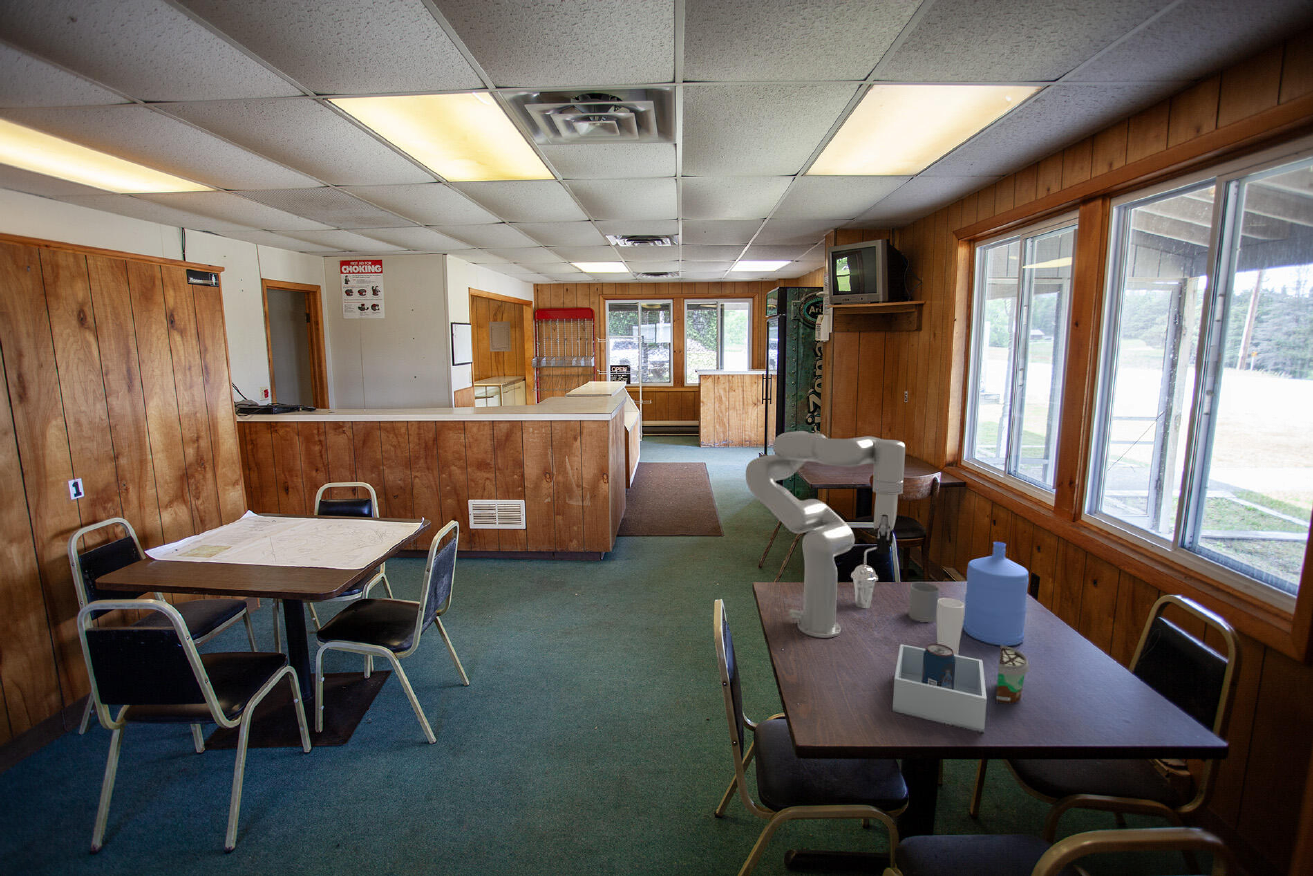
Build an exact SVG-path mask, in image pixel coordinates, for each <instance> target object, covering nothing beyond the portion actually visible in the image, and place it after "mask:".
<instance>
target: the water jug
mask: <svg viewBox="0 0 1313 876" xmlns="http://www.w3.org/2000/svg"><path fill="white" fill-rule="evenodd" d="M1006 546H1007V544H1006V543H1005V542H1001V541H994V542H993V547H992V554H991V555H989V556H985V557H979V558H975V559H972V560H970V561H969V562H968V564H967V568H966V591H965V596H964V620H963V626H962V629H963V630H964V631H965V633H966V634H967V635H969V636H970V637H971V638H972V639H975V640H977V641H980V642H982V643H986V644H990V645H995V646H999V647H1001V645H1004V646H1007V647H1009V646H1010V647H1011V646H1017V645H1019V644H1021V643H1022V642H1023V641H1024V638H1025V631H1024V630H1025V623H1026V622H1025V618H1026V614H1027V597H1028V587H1029V571H1028V570H1027V568H1026V567H1024V566H1022V565H1020V564H1018V563H1016V562H1014V561H1012V560H1010V559H1009V558H1006Z"/></svg>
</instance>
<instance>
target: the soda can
mask: <svg viewBox="0 0 1313 876" xmlns="http://www.w3.org/2000/svg"><path fill="white" fill-rule="evenodd" d="M925 649H926V650H925V651H924V654H923V669H922V683H924V684H929V685H933V686H938V687H942V688H947V689H951V690H954V677H955V663H956V659H955V656H954V654H953V650H952V649H951V648H949V647H947V646H945V645H942V644H937V643H928V644H927V645H926V648H925Z"/></svg>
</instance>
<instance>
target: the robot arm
mask: <svg viewBox="0 0 1313 876" xmlns="http://www.w3.org/2000/svg"><path fill="white" fill-rule="evenodd" d="M772 449H773V452H774V454H770V455H764V456H760V457H759V456H758V457H757V458H754V459H752V460H751V461H750V462H748V464H747V466H746V468H745V481H746V484H747V486H748V488H749V490H750V492H751V493H752V495H753V496H755V498H757V500H758V501H760V503H762V504H763V505H764V506H765V507H766V508H768V510H769V511H770V512H771V513H772V514H773V515H774V517H776V518H777V519H778V520H779V521H780V523H782V525H784V526H785V528H786V529H788V530H789V531H790V532H791V533H793V534H803V533H805V535H804V536H803V539H802V541H801V543H802V552H803V553H802V554H803V559H804V578H803V579H804V582H803V584H804V585H803V610H802V609H801V610H796V609H789V612H788V614H789V615H788V616H790V617H791V619H792V620H797V628H798V629H799V631H800V632H802V633H803V634H805V635H808V636H810V637H813V638H814V637H815V638H821V639H823V638H824V639H825V638H832V637H837V636H839V635H840V634H841V630H842V628H841V625H840V623H838V622H837V619H836V618H837V600H838V599H837V598H838V597H837V596H838V568H837V566H836V562H835V557H838V556H839V555H842V554H844V553H847V552H849V551H850V550H851V549H852V548H853V547H854V545H855V541H856V538H855V534H854V532H853V530H852V529H851V527H850V526H849V524H848V523H846V522H845V521H844V520H843V519H842V518H841V517H840V516H839V515H838V514H837V513H836V512H835V511H834V510H832V508H830V506H828V505H827V504H826V503H825V502H823V501H821V500H819V499H816V498H807V499H805V500H804V499H803V500H800V499H798V498H797V497H796V496H794V495H793V493H791V492H790V490H789V489H787V488H786V487H784V486H782V485H781V484H779V483H777V481H781V480H786V479H788V478H790V477H792V476H793V475H794V474H796V473H797V471H798V470H799V469H800V468H801V467H802V466H803V465H804V464H806V463H807V462H808V463H809V462H810V463H818V464H822V465H826V466H832V467H833V466H834V467H835V466H836V467H848V468H849V467H850V468H851V467H852V468H853V467H857V466H863V465H868V464H873V473H872V474H873V479H872V481H873V482H872V492H873V493H875V501H874V515H873V529H874V530H876V529H878V531H877V538H876V547H877V548H876V549H875V551H876V552H875V553H877V554H882V555H890V553H891V552H890V549H891V545H893V542H894V528H895V527H894V526H895V523H896V519H897V510H898V500H899V499H898V498H899V497H898V495H903V493H904V478H905V477H904V475H905V458H906V445H905V443H904V442H903V441H901V440H897V439H896V440H895V439H883V438H879V437H875V436H871V435H869V436H868V435H867V436H866V435H865V436H861V437H860V436H859V437H853V438H852V437H851V438H828V437H826V436H825V435H824V434H822V433H816V432H815V433H810V432H808V431H805V430H797V431H788V432H787V431H786V432H784V433H781V434H778V436H776V438H775V439H774V441H773V443H772Z"/></svg>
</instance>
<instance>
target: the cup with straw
mask: <svg viewBox="0 0 1313 876" xmlns="http://www.w3.org/2000/svg"><path fill="white" fill-rule="evenodd" d="M876 548H877V546H875V547H874V546H873V547H871V548H868V549H866V550H865V551H864V553H863V556H864V557H863V564H860V565H857V566H856V567H855V569H854V570H853V571H852V572H851V574H850V577H851V579H852V580H853V581H852V582H853V584H854V585H853V586H854V597H855V599H854V600H855V606H856V607H858V608H860V607H861V609H869V608H871V603H872V599H873V594H874V587H875V585H876V582H877V581H879V576H878V575H877V574H876V571H875V569H874V568H873V567H872V566H870V565H867V554H868V552H871V551H874V550H875V551H876Z"/></svg>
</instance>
